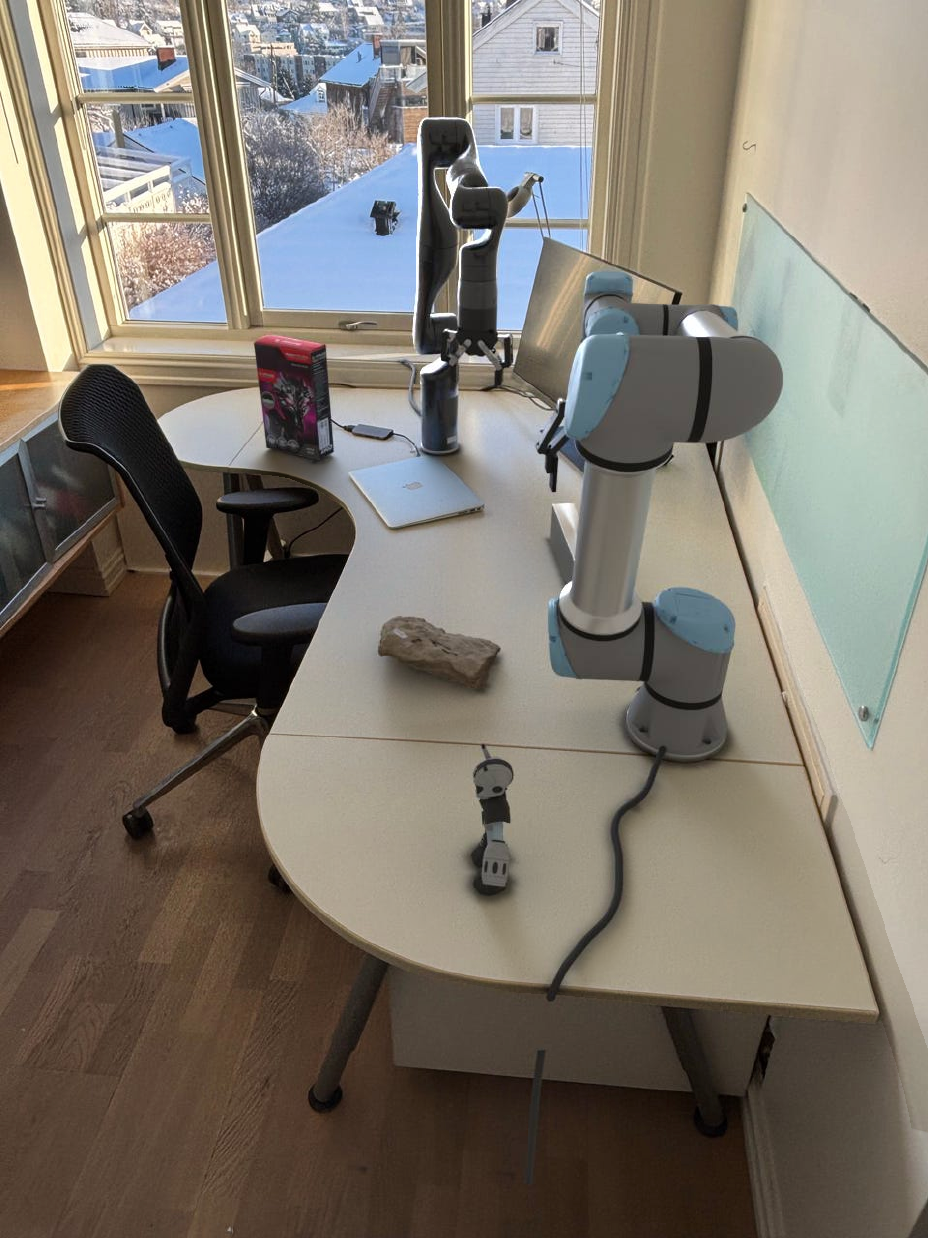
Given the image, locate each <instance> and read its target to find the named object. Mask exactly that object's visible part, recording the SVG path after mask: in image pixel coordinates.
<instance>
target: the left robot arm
mask: <svg viewBox="0 0 928 1238" xmlns="http://www.w3.org/2000/svg"><path fill="white" fill-rule="evenodd" d="M417 162H418V163H417V164H418V166H417V167H418V194H419V195H418V214H417V215H418V216H417V235H416V292H415V303H414V304H415V305H414V314H413V324H412V342H413V348H414V351H415V352H416V354H417V355H419V356H427V357H428V356H439V358H437V359H436V360H435V361H434V362H432V363H429V364H427V365H426V366H424V367H422V369H421V371H420V373H419V381H420V384H419V385H420V408H419V407H418V405H416V403H415V400H414V398H413V388H414V383H415V378H416V373H417V372H416V371H417V370H416V367H415V365H413V363H412V362H411V361H410V360H409V359H407V358H402V359H400V361H399V363H400V364H403V363H406V364H407V365H408V366H409V368H411V370H412V372H411V373H412V374H411V379H410V381H409V388H408V398H409V399H408V400H409V401H410V404H411V406H412V407H413V409H414V410H415V411H416V412H417V413H418V414H419V415H420V431H421V432H420V436H421V437H420V439H421V442H420V449H421V450H422V451H423V452H424V453H426V454H429V455H430V454H431V455H435V456H440V455H441V456H444V455H449V454H453V453H455V452H457V451H458V450H459V382H460V359H461V358H462V356H463V355H464V354H466V355H467V356H470V357H473V356H477V357H478V358H480V357H481V358H483V357H486V359H488V361H489V362H490V363H491V364H492V365H493V367H494V368H495V369H494V378H493V379H494V382H493V384H494V385H493V387H494V389H499V388H500V386H502V384H503V382H504V369H509V368H511V366H512V365H513V363H514V336H513V334H512V333H508V334H505V335H502V334H499V333H498V330H497V329H498V328H497V326H498V324H497V323H498V297H499V296H498V294H499V293H498V292H499V291H498V281H497V280H498V278H497V277H498V255H499V248H500V244H501V240H502V235H503V233H504V230H505V226H506V222H507V219H508V215H509V210H510V208H509V207H510V206H509V205H510V204H509V198H508V196H507V194H506V192H505V191H504V189H503V188H501V187H498V186H490V185H489V182H488V180H487V178H486V176H485V173H484V172H483V170H482V167H481V165H480V159H479V152H478V148H477V143H476V137H475V133H474V130H473V127H472V125H471V123H470V122H469V121H468V120H467V119H466V118H465V119H464V118H460V117H425V118H423V119H422V120H421V122H420V124H419V127H418V133H417ZM436 170H447V173H446V183H447V188H448V190H449V192H450V195H451V198H450V204H449V208H448V206H447V205H446V203H445V200H444V198H443V197H442V195H441V192H440V190H439V188H438V185H437V182H436V175H435V172H436ZM460 230H461V231H485V232H484V234H483V235H482V237H480V238H479V239H477V240H474V241H470V242H468V243H465V244H463V245H462V246H461V247H460V235H461V234H460ZM458 262H459V265H458ZM457 266H459V267H458V268H459V270H458V272H459V273H458V277H459V278H458V286H457V296H456V298H457V299H456V300H457V315H456V314H455V313H453V312H444V313H432V311H433V308H434V304H435V302H436V301H437V298H438V295H439V294H440V292H441V291H442V290H443V288H444V286H445V285H446V284H447V282H448V281H449V280H450V278H451V276H452V275H453V274H454V271H455V270H456V268H457ZM498 342H499V343H500V346H501V347H502V348H503V356H504V357H503V358H502V356H501V355H500V353H499V351H498V349H497V348H496V344H497V343H498ZM402 360H403V361H402ZM404 361H405V362H404Z"/></svg>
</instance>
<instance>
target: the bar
mask: <svg viewBox="0 0 928 1238" xmlns="http://www.w3.org/2000/svg"><path fill="white" fill-rule="evenodd" d="M578 521H579V510H578V509H577V506H576V503H575V502H564V503H563V502H562V503H552V504H551V515H550V530H549V542H550V545H551V548H552V550H553V553H554V556H555V559H556V561H557V564H558V567H559V570H560V574H561V575H562V578H563V581H564V584H565V586H566V585H567V584H568V583H569V582H571V581H572V577H573V568H574V558H575V549H576V540H577V531H578Z"/></svg>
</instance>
